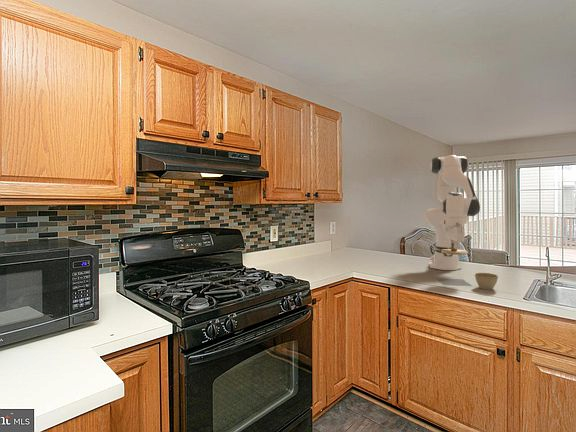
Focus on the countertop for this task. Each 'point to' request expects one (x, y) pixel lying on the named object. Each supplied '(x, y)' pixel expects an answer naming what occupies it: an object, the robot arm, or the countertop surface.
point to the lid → (454, 251)
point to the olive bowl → (486, 280)
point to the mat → (454, 282)
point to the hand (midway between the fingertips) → (454, 248)
